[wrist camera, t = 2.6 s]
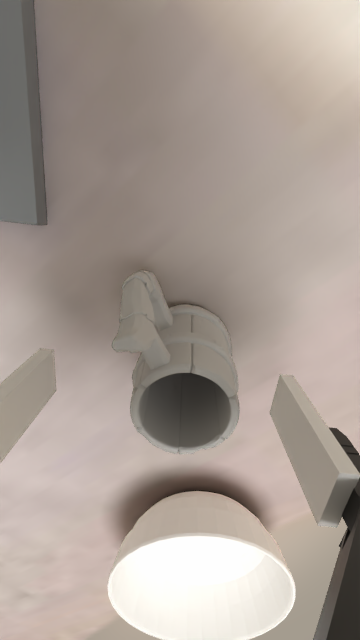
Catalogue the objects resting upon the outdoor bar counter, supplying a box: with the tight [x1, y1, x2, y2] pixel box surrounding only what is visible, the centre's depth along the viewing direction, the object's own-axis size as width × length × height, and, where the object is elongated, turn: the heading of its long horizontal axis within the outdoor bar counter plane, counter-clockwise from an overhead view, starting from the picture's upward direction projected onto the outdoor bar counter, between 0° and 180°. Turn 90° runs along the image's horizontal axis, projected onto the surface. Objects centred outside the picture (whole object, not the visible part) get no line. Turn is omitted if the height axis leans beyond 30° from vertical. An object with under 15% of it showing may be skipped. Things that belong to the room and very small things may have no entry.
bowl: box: [108, 491, 295, 640], centre depth 30 cm, size 18×18×7 cm
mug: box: [112, 270, 239, 454], centre depth 19 cm, size 8×12×12 cm, turn 26°
